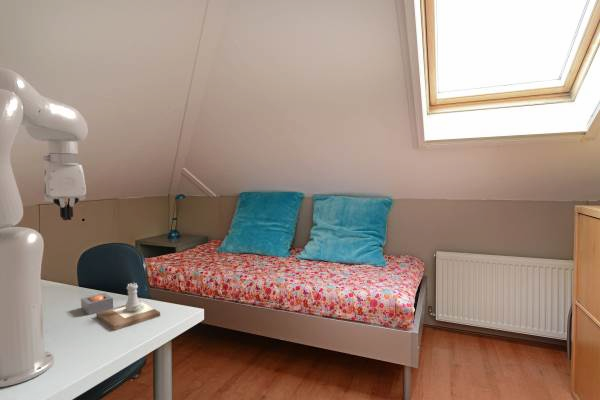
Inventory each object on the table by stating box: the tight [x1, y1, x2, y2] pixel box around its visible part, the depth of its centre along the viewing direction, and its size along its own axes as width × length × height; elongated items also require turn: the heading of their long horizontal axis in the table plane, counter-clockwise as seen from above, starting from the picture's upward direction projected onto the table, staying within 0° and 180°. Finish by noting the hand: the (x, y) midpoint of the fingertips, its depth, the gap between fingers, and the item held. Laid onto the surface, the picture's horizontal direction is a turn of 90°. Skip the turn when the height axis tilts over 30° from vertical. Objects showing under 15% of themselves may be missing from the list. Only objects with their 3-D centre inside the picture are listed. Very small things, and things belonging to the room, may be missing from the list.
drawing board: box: [95, 300, 161, 331], centre depth 104 cm, size 13×14×1 cm
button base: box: [80, 292, 114, 316], centre depth 110 cm, size 7×7×3 cm
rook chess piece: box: [125, 282, 141, 312], centre depth 105 cm, size 4×4×8 cm
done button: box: [90, 294, 103, 302], centre depth 110 cm, size 4×4×2 cm
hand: (66, 219), depth 106 cm, fingers closed
